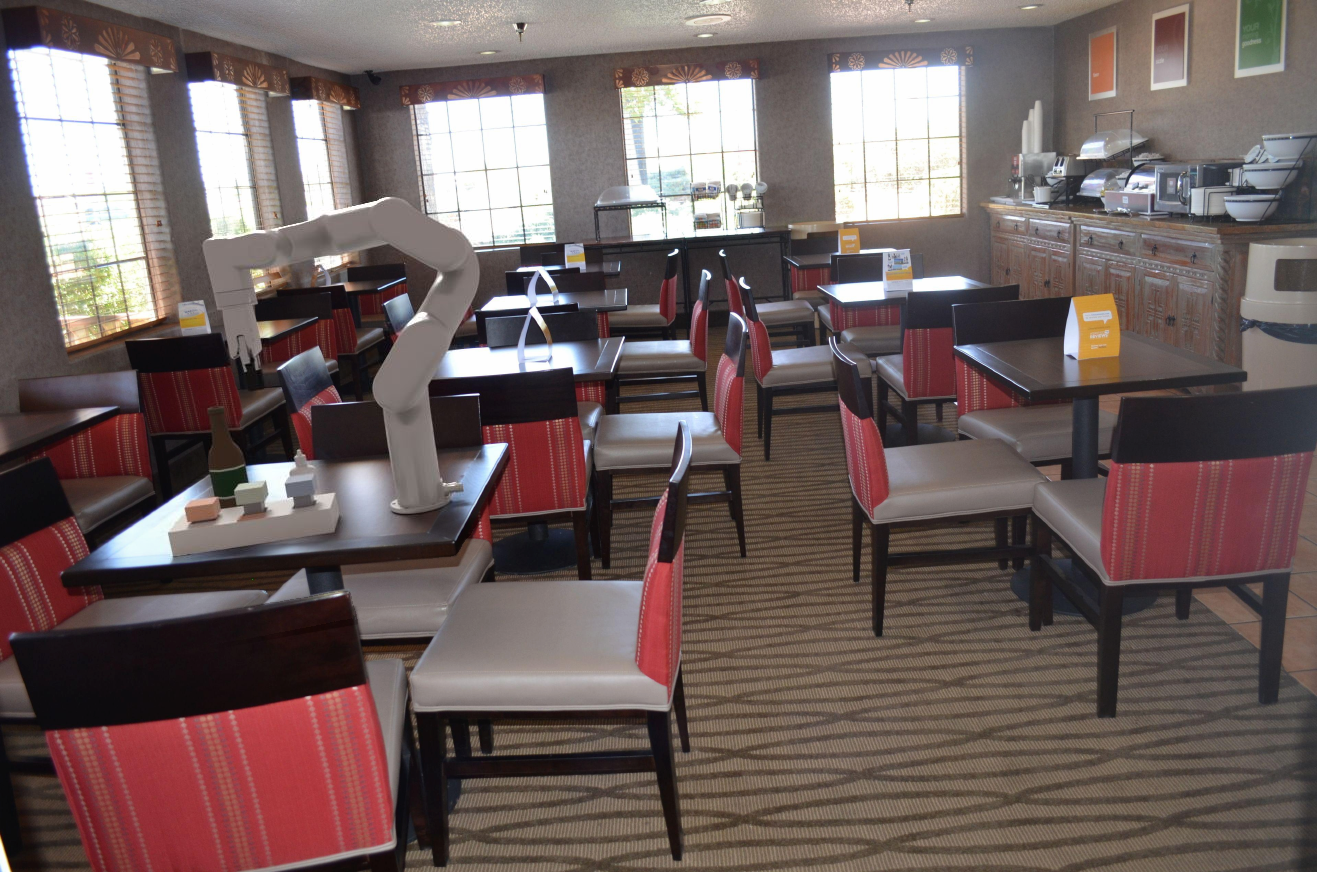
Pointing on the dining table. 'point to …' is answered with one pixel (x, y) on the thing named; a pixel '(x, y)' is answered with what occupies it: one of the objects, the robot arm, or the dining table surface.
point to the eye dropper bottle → (304, 469)
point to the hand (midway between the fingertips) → (257, 389)
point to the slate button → (301, 490)
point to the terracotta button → (202, 510)
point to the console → (255, 526)
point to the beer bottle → (224, 460)
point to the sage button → (252, 497)
